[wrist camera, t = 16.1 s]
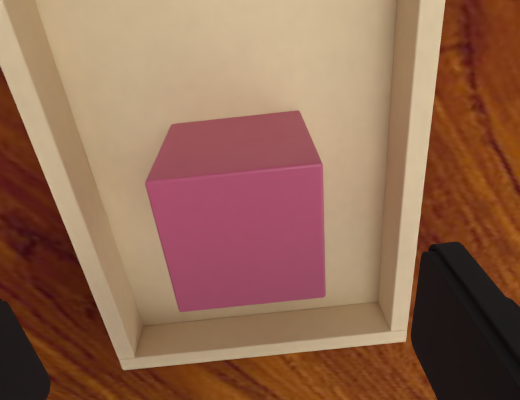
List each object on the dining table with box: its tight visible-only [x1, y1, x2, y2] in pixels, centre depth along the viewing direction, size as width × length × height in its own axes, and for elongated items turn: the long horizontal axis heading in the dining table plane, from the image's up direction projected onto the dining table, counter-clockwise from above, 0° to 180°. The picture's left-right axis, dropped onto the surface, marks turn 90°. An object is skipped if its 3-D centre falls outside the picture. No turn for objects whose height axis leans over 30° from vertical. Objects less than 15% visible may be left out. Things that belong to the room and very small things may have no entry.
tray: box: [0, 0, 445, 370], centre depth 16 cm, size 18×14×3 cm
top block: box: [145, 110, 326, 312], centre depth 15 cm, size 5×5×5 cm
